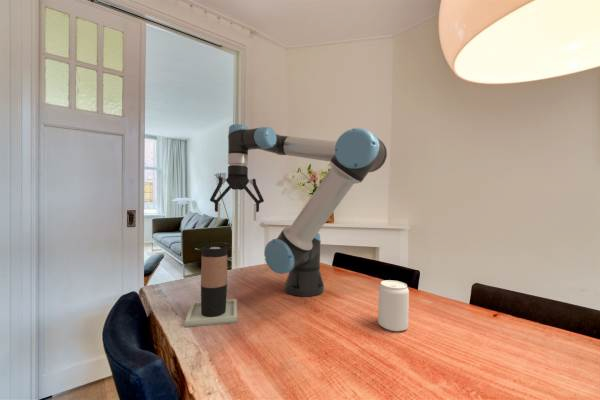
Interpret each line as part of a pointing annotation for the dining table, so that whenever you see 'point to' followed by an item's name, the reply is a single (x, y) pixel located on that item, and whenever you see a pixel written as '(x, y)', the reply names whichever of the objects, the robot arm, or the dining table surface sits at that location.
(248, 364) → the dining table surface
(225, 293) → the travel mug
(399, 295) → the beverage can
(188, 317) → the tray
